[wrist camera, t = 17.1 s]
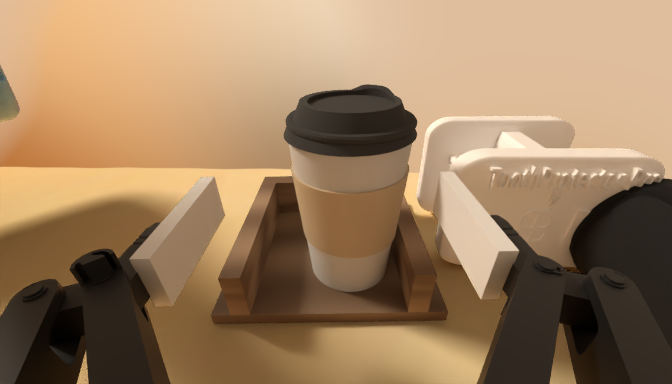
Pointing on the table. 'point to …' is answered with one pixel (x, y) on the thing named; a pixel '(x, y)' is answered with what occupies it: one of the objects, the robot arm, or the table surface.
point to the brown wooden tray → (300, 280)
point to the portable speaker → (633, 244)
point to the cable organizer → (528, 175)
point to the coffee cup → (350, 179)
